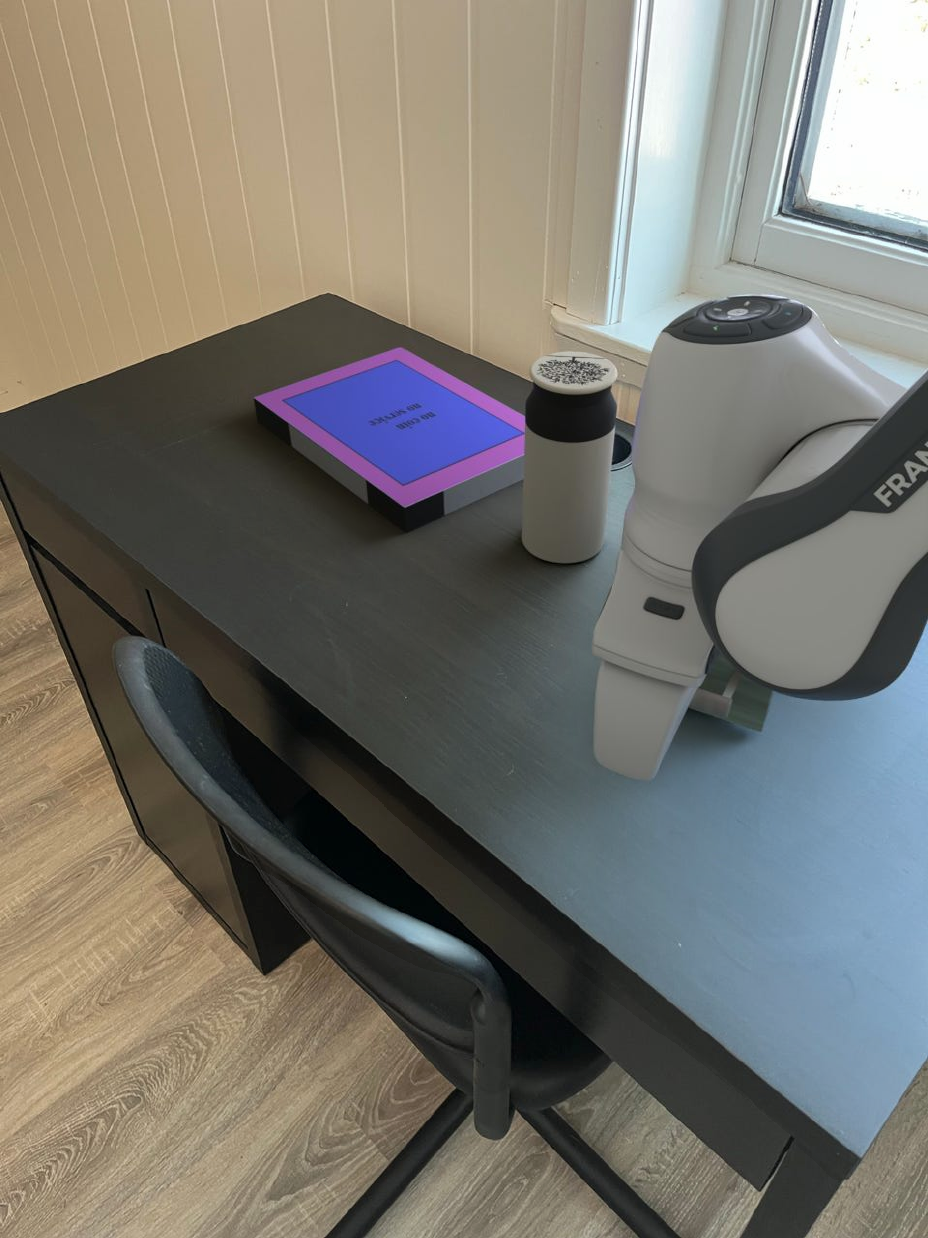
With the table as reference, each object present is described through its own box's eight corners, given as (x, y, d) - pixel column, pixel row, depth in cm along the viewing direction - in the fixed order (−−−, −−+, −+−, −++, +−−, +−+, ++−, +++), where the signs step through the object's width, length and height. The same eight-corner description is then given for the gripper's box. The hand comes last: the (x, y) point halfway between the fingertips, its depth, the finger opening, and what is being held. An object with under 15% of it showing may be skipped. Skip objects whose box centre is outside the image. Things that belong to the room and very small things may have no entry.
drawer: (745, 771, 68) (766, 695, 63) (598, 719, 73) (607, 644, 68) (802, 628, 80) (823, 554, 75) (673, 590, 85) (684, 518, 79)
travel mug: (595, 572, 88) (611, 396, 77) (512, 558, 90) (516, 384, 78) (610, 525, 94) (627, 354, 82) (532, 513, 96) (538, 344, 84)
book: (400, 346, 120) (563, 437, 101) (401, 368, 121) (561, 461, 103) (253, 397, 110) (404, 507, 92) (257, 420, 112) (406, 532, 94)
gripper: (694, 472, 65) (669, 625, 74) (580, 652, 51) (566, 812, 60) (786, 495, 63) (749, 649, 72) (693, 689, 49) (661, 850, 58)
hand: (665, 725), depth 66 cm, fingers closed
